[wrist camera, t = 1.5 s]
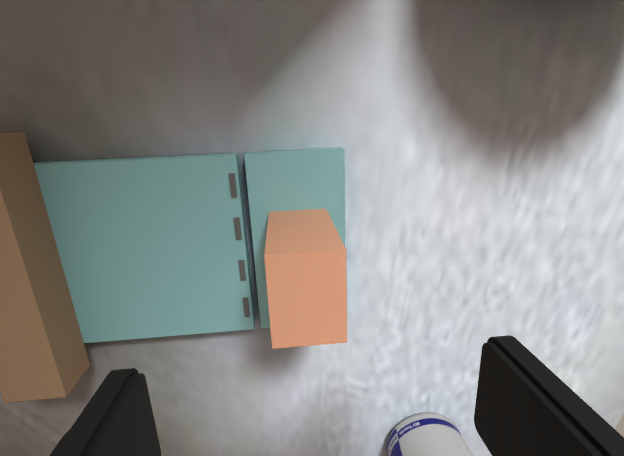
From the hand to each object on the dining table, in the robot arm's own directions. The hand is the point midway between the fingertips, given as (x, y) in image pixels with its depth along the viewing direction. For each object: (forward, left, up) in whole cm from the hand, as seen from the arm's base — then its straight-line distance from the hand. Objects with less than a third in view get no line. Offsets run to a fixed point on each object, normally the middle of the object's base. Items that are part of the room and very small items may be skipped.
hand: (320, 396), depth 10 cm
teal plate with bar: (-1, -10, -11) cm, 15 cm away
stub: (-1, 0, -11) cm, 11 cm away
